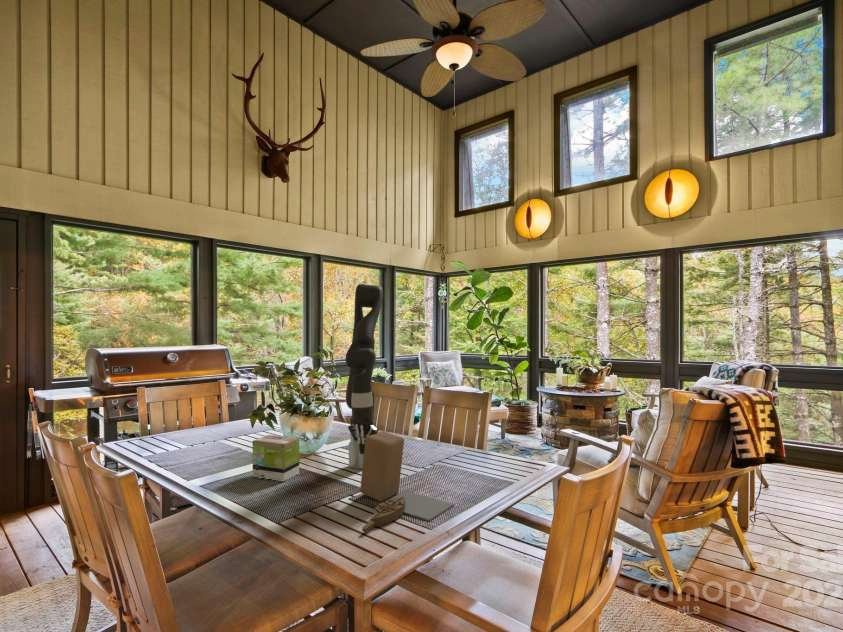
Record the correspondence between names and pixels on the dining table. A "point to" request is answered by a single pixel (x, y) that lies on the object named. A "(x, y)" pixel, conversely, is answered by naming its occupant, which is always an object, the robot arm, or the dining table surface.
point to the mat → (423, 506)
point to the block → (382, 465)
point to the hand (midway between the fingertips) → (363, 453)
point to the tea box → (276, 457)
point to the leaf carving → (386, 512)
